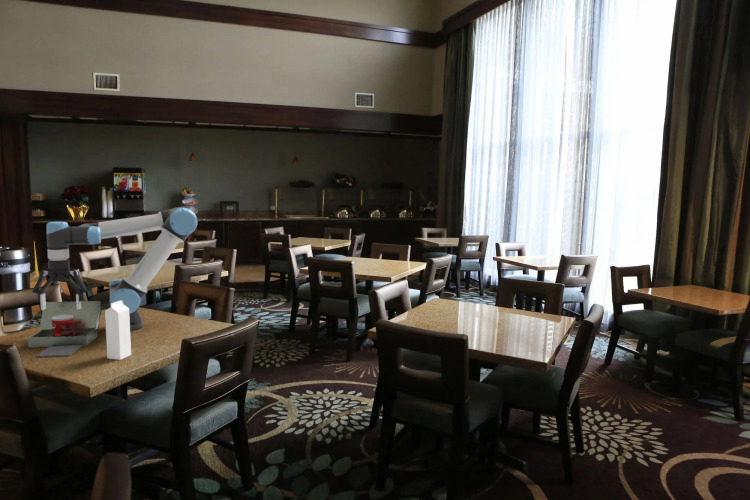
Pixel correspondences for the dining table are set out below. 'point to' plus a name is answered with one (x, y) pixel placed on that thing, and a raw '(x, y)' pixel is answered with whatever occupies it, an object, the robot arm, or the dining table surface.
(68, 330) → the canned food
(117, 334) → the milk
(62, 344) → the case
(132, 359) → the dining table surface
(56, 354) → the pad
